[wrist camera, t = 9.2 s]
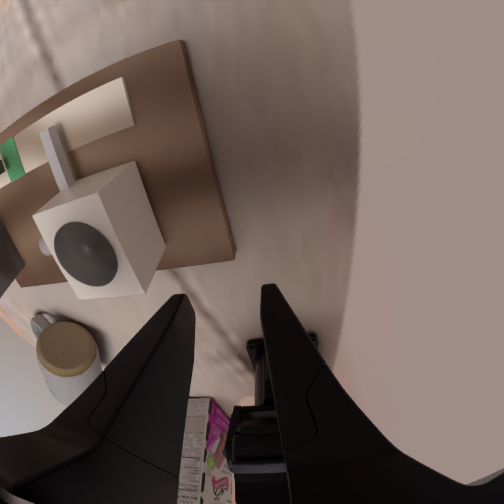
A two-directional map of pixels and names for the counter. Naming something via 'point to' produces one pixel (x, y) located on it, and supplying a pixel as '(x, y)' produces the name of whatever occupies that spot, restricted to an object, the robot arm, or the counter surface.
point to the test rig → (117, 161)
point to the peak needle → (1, 167)
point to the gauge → (99, 228)
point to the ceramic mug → (66, 357)
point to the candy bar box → (204, 455)
